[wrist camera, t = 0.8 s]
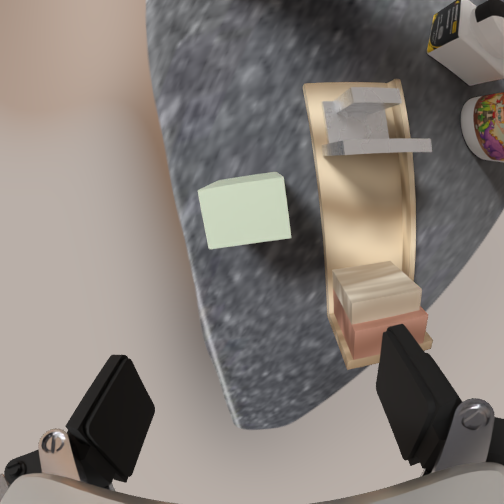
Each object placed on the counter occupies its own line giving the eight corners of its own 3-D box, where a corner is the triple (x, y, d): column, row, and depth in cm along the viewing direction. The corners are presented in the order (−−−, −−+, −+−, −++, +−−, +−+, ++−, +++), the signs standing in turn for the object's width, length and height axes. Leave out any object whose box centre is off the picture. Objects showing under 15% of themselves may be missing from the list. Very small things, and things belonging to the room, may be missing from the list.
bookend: (314, 103, 23) (333, 84, 16) (386, 101, 22) (422, 87, 15) (322, 156, 24) (345, 155, 17) (393, 151, 23) (432, 151, 17)
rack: (302, 86, 23) (321, 54, 14) (387, 86, 22) (434, 62, 14) (327, 315, 30) (347, 369, 22) (399, 302, 30) (435, 346, 21)
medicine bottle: (432, 14, 19) (487, -21, 7) (475, 47, 19) (535, 27, 8) (425, 53, 21) (490, 21, 9) (469, 87, 21) (538, 74, 10)
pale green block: (218, 180, 26) (197, 190, 18) (276, 171, 26) (283, 177, 17) (225, 221, 28) (209, 250, 19) (281, 213, 27) (291, 238, 19)
